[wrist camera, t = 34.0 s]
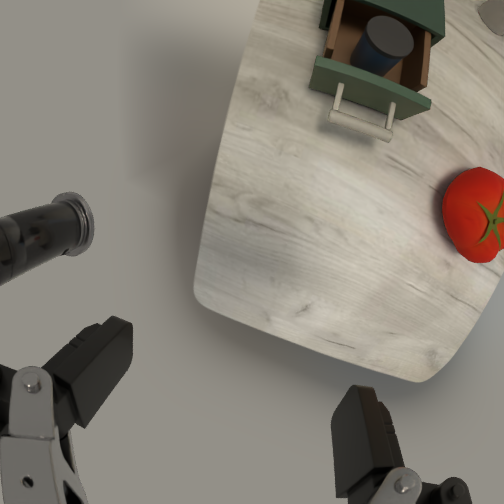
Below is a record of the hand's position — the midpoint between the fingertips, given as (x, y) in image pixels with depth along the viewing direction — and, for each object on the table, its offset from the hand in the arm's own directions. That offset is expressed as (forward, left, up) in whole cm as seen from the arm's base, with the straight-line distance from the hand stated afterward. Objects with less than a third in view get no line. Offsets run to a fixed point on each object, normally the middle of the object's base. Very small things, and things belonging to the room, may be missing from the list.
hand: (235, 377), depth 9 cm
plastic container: (+6, +23, -26) cm, 36 cm away
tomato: (+26, +10, -28) cm, 40 cm away
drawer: (+6, +22, -27) cm, 36 cm away
